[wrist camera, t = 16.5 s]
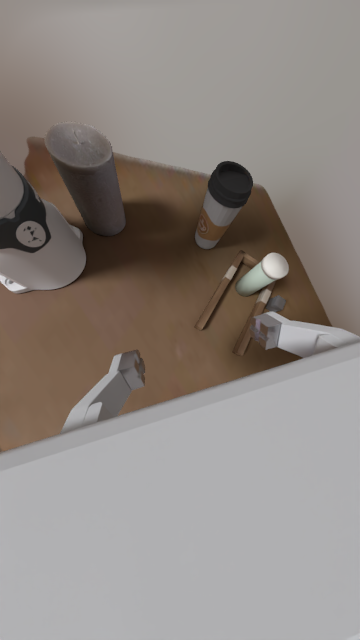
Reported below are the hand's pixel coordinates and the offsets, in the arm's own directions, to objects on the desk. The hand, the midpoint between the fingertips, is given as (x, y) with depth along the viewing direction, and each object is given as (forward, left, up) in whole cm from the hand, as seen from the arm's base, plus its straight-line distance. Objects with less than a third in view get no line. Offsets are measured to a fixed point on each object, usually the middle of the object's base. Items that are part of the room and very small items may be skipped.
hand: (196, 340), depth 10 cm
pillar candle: (-30, +18, -23) cm, 42 cm away
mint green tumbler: (+9, +24, -23) cm, 34 cm away
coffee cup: (-7, +30, -23) cm, 39 cm away
